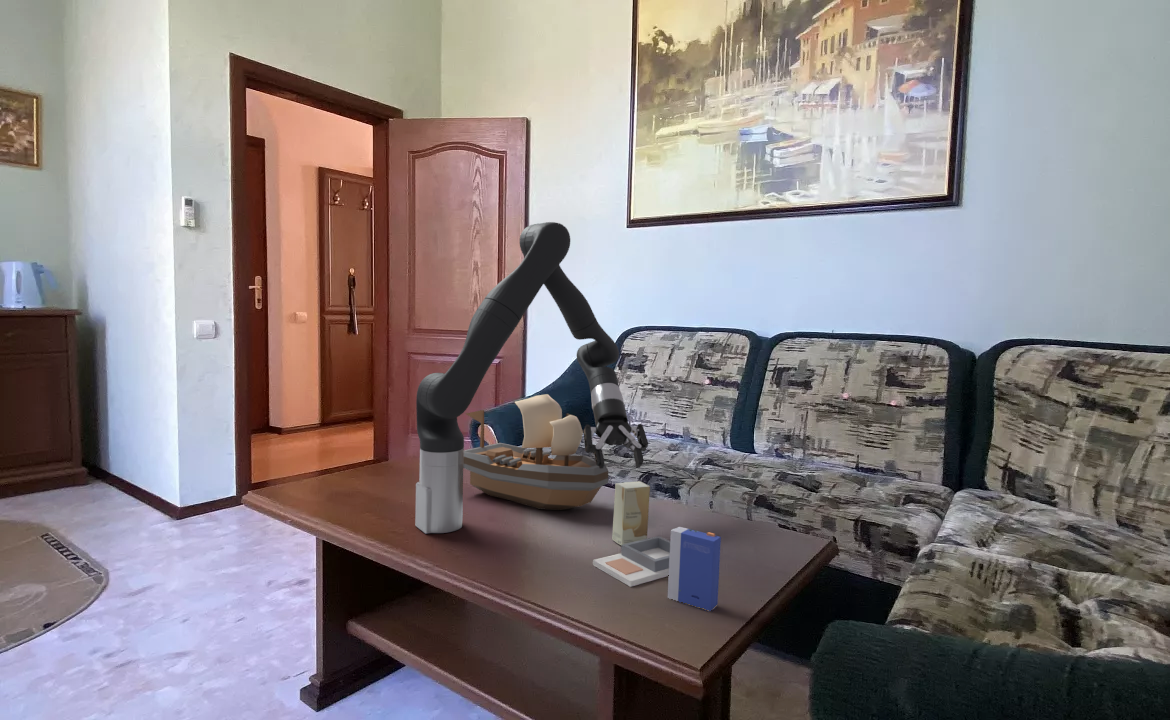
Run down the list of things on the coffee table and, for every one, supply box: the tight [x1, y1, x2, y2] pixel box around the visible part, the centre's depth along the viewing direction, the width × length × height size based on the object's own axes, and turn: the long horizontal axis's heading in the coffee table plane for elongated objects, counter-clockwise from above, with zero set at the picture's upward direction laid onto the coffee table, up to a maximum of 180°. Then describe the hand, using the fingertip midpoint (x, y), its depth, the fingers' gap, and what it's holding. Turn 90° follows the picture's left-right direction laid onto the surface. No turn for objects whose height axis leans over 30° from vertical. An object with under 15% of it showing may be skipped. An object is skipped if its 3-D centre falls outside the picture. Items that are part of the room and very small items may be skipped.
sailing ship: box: [463, 393, 609, 511], centre depth 158 cm, size 16×45×27 cm, turn 55°
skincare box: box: [611, 480, 651, 547], centre depth 131 cm, size 6×4×12 cm
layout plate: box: [592, 535, 670, 588], centre depth 118 cm, size 16×11×3 cm
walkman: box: [667, 526, 722, 612], centre depth 104 cm, size 8×3×12 cm, turn 54°
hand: (621, 466), depth 138 cm, fingers open, 8 cm apart
